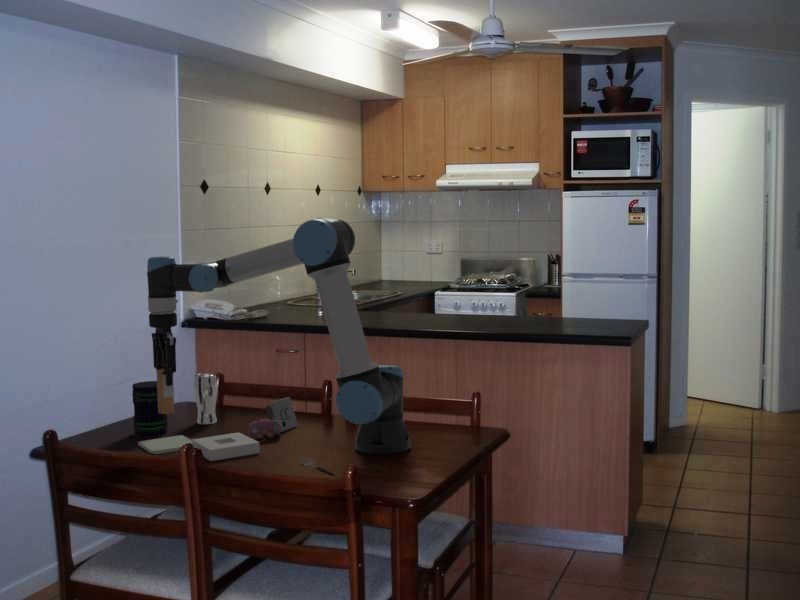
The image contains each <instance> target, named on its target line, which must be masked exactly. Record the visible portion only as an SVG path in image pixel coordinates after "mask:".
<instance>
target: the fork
mask: <svg viewBox="0 0 800 600" xmlns="http://www.w3.org/2000/svg"><path fill="white" fill-rule="evenodd" d="M306 456H307V457H306ZM304 457H305V458H304ZM300 459H301V462H302V464H303V465H304V466H309V465H311V468H314V469H317V470H319V471H320V472H322V473H325V474H328V475H332V476H333V477H334V476H336V474H334V473H333V472H331V471H329V470H328V469H325V468H323V467H320V466H316V465H314V462H313V461H312V459H311V458H310V456H308V455H305V456H300Z"/></svg>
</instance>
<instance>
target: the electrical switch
mask: <svg viewBox="0 0 800 600" xmlns="http://www.w3.org/2000/svg"><path fill="white" fill-rule="evenodd" d="M264 408H265V412H266V416H267V419H270V420H274V419H276V420H277V421H278V422H279V423H280V424H281V433H282V432H283V433H284V432H285V431H288V430H291V429H293V428H295V427H298V421H297V417H296V414H295V410H294V407H293V401H292V398H291V397H289V396H286V397H284V398H281V399H278V400H274V401H271V402H270V404H269V405H266V406H264Z"/></svg>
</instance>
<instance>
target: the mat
mask: <svg viewBox="0 0 800 600" xmlns="http://www.w3.org/2000/svg"><path fill="white" fill-rule="evenodd" d="M187 443H191V444H192V439H190V438H188V437H187V436H185V435H183V434H180V435H173V436H167V437H160V438H153V439H147V440H140V441H137V446H139V447H140V448H142V449H143V450H145V451H147V452H148V453H149V454H151V453H153V454H155V455H160V454H161V455H162V454H166V453H167V454H168V453H172V452H173V453H174V452H180V451H179V450H180V448H181V447H182V446H183V445H185V444H187Z"/></svg>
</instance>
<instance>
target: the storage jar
mask: <svg viewBox="0 0 800 600" xmlns="http://www.w3.org/2000/svg"><path fill="white" fill-rule="evenodd" d="M131 394H132V396H131V397H132V404H133V413H134V415H133V418H132V420H133V427H134V428H133V430H134V436H135V437H138V438H147V439H148V438H157V437H163V436H165V435H167V434H168V433H169V431H168V426H169V421H168V414H160V413H158V395H157V380H150V381H149V380H147V381H139V382H136V383H135V382H134V383H133V384H132V393H131Z"/></svg>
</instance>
